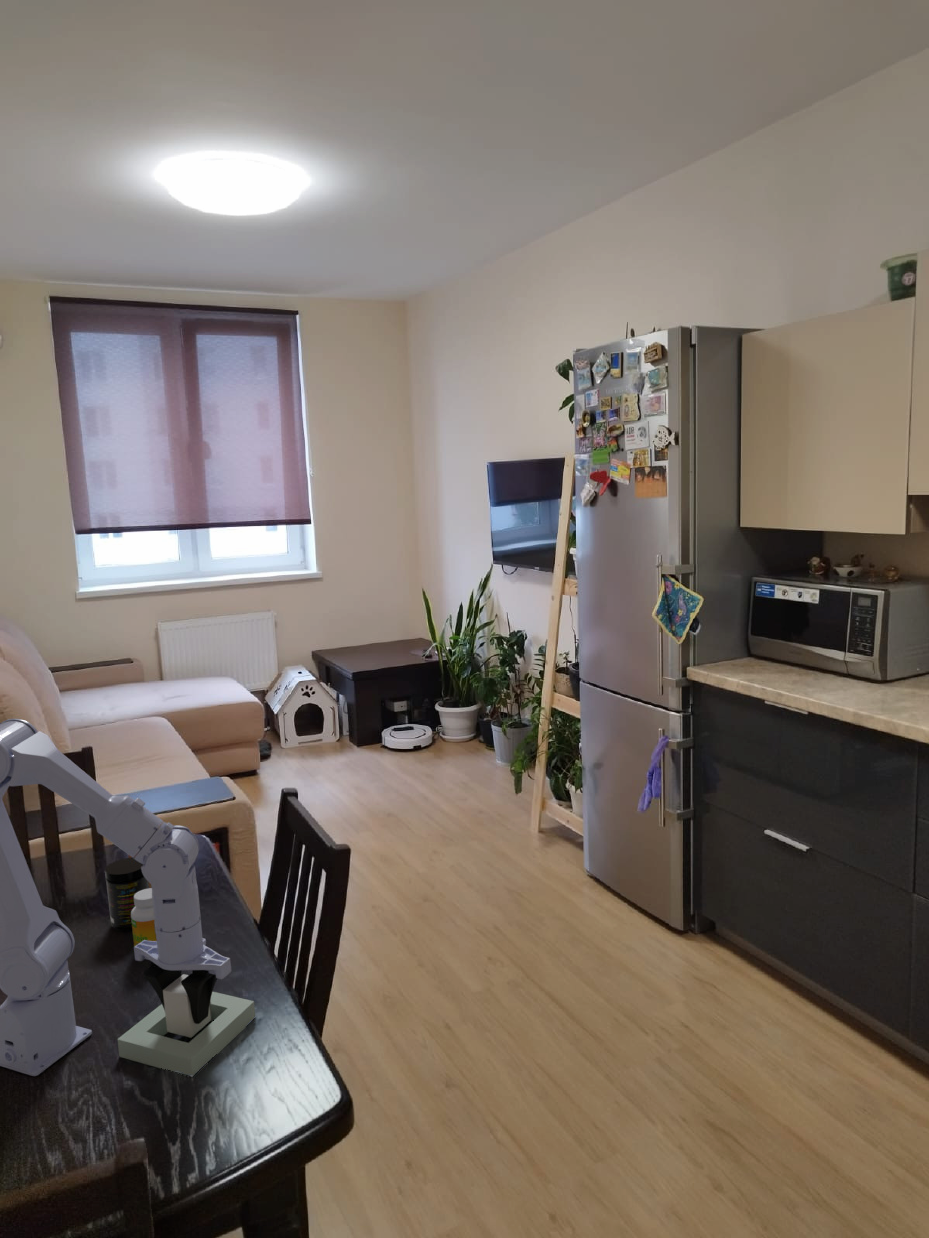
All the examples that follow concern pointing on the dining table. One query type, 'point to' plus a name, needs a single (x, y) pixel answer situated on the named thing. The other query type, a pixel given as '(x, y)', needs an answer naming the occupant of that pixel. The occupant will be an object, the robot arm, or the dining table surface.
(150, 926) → the supplement bottle
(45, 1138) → the dining table surface
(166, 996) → the plug
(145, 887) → the supplement container
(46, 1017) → the robot arm
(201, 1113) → the dining table surface
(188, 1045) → the socket board
